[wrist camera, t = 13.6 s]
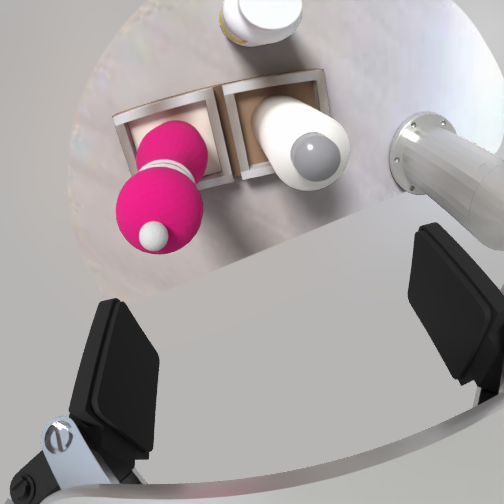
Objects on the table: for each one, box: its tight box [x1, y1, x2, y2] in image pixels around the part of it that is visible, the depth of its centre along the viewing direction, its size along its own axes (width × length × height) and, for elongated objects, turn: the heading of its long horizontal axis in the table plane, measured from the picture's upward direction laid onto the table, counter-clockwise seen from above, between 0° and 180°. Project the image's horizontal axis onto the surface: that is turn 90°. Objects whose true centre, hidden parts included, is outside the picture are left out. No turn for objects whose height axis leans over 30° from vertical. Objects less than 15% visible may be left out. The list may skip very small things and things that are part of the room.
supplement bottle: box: [219, 0, 302, 47], centre depth 23 cm, size 7×7×13 cm
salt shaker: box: [251, 94, 350, 191], centre depth 29 cm, size 7×7×14 cm
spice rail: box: [112, 69, 330, 190], centre depth 34 cm, size 24×11×3 cm, turn 100°
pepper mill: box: [116, 120, 208, 254], centre depth 26 cm, size 7×7×20 cm
